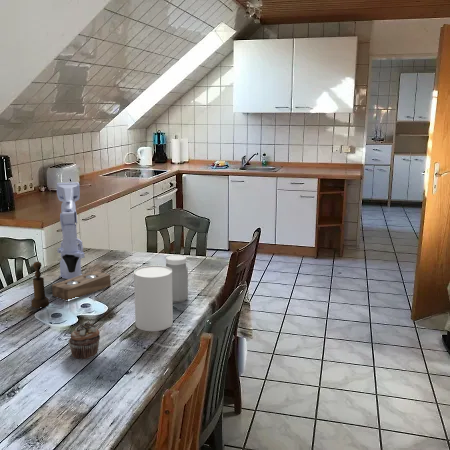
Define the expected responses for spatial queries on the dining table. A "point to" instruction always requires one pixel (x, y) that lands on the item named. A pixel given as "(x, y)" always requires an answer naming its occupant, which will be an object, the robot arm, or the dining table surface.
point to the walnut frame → (81, 285)
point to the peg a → (72, 283)
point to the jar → (178, 277)
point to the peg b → (90, 276)
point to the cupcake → (84, 341)
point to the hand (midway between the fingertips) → (71, 271)
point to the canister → (153, 298)
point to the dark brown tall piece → (39, 289)
